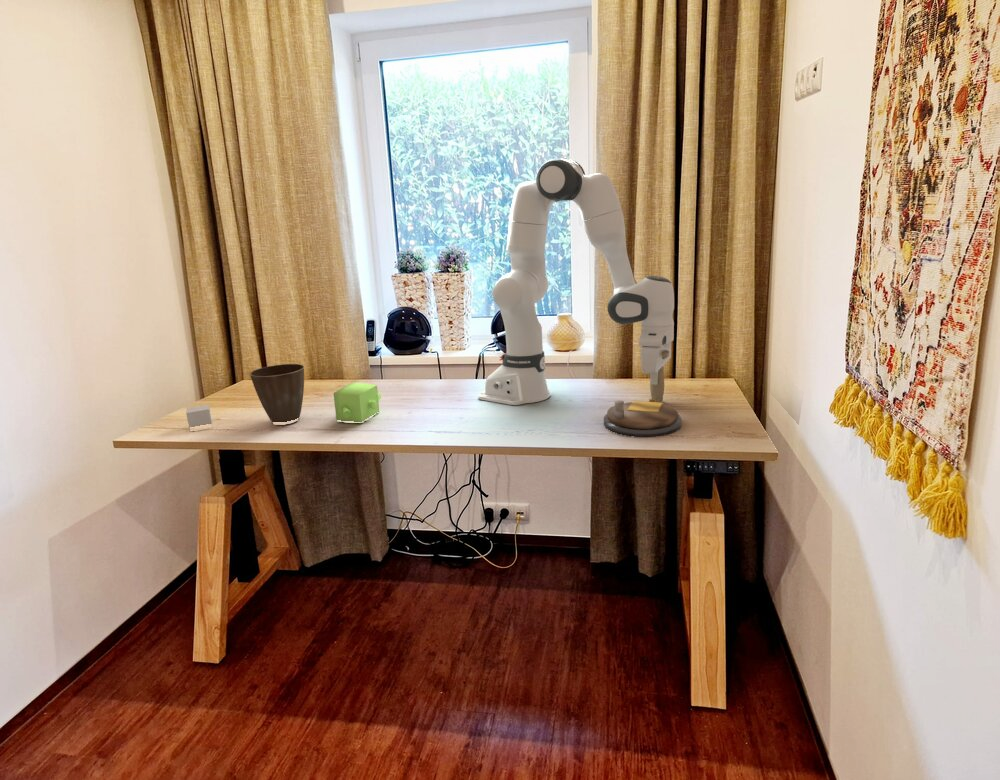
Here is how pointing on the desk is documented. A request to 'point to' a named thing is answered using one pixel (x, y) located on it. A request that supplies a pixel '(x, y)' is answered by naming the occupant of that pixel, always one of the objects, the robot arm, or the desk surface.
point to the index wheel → (642, 415)
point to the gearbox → (356, 402)
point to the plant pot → (280, 390)
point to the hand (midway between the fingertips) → (657, 381)
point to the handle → (658, 389)
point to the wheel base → (643, 432)
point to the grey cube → (199, 415)
